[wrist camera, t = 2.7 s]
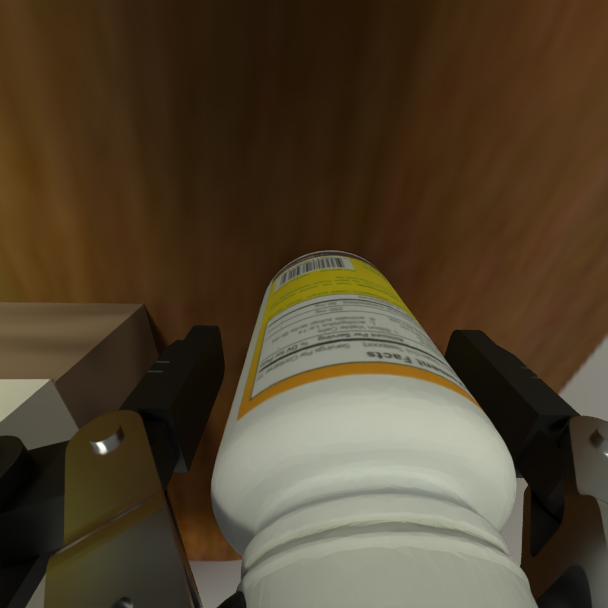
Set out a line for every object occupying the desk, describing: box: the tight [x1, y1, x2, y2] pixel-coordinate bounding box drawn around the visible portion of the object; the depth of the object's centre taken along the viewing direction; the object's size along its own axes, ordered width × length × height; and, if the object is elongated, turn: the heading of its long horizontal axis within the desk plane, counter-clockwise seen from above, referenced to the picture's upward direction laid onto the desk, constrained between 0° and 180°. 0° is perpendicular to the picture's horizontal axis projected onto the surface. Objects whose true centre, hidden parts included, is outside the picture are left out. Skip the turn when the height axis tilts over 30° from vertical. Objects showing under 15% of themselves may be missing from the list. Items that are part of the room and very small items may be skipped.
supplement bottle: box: [211, 250, 538, 608], centre depth 8 cm, size 6×6×10 cm
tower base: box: [0, 302, 159, 430], centre depth 12 cm, size 8×8×5 cm
